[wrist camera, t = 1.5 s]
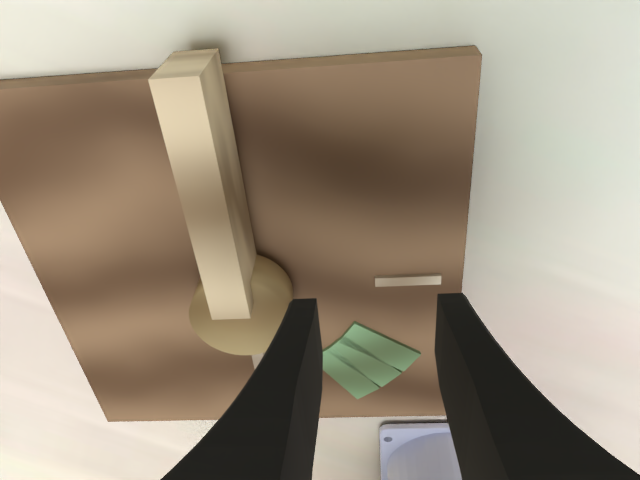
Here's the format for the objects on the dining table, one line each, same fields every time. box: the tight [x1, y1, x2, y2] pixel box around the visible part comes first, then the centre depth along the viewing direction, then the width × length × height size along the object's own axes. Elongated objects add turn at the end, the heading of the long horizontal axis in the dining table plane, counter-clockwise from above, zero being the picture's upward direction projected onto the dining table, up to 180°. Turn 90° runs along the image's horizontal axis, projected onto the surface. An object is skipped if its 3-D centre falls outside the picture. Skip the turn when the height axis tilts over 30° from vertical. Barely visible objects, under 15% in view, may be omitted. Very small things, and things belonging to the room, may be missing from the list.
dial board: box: [0, 46, 482, 422], centre depth 26 cm, size 20×20×1 cm
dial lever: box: [148, 48, 293, 369], centre depth 23 cm, size 20×4×3 cm, turn 5°
